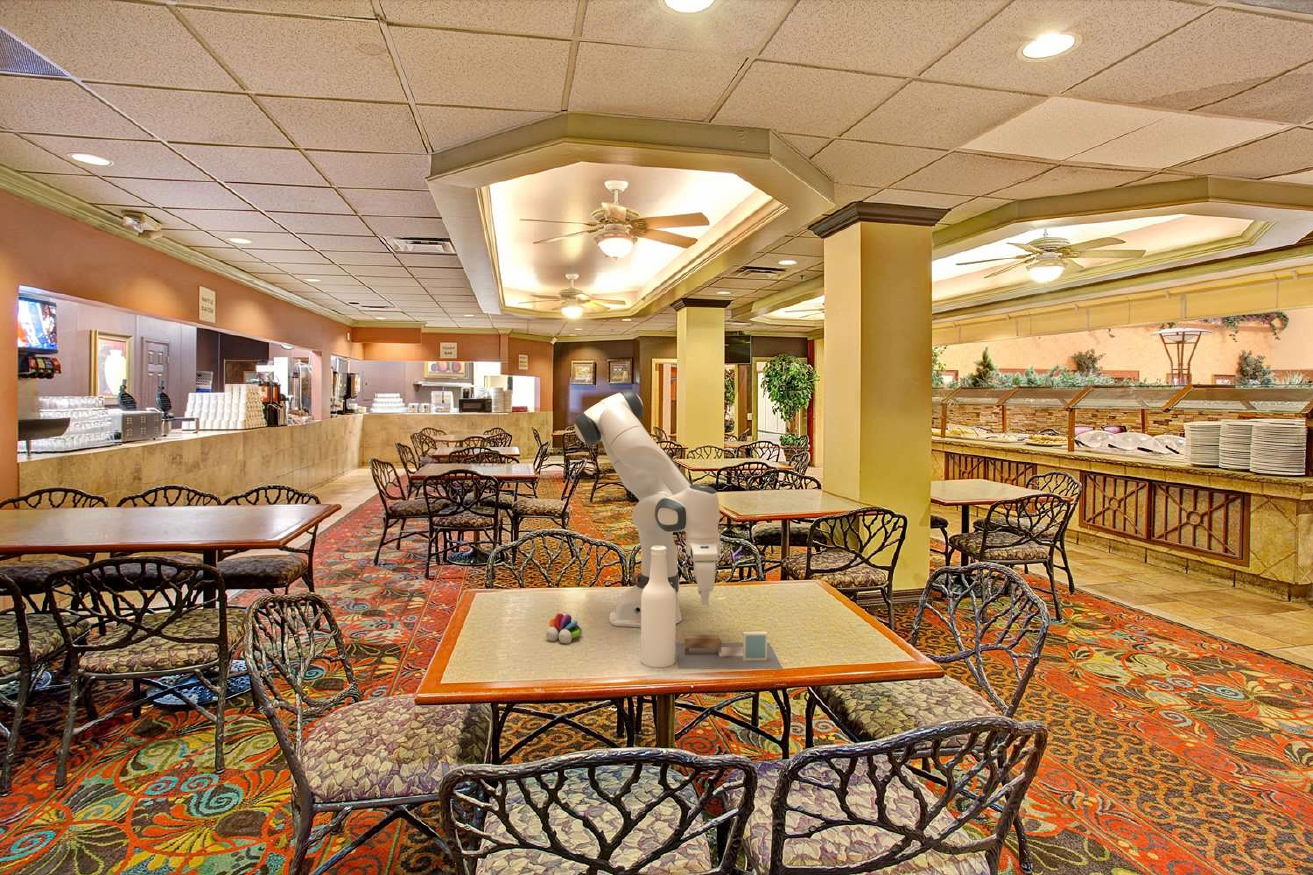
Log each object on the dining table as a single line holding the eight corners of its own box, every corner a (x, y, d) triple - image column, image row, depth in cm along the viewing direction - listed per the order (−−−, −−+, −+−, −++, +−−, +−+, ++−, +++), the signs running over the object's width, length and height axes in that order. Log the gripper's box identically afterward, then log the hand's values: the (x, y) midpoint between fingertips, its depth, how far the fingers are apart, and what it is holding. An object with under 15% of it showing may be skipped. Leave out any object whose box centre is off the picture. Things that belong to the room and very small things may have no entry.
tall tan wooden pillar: (685, 657, 170) (685, 640, 170) (684, 649, 176) (684, 632, 176) (746, 657, 170) (746, 640, 170) (743, 649, 176) (743, 632, 176)
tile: (743, 660, 168) (744, 633, 168) (742, 658, 170) (743, 631, 170) (766, 660, 169) (767, 633, 168) (765, 658, 170) (766, 631, 170)
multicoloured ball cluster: (558, 631, 191) (558, 607, 191) (587, 637, 187) (587, 612, 186) (541, 641, 183) (541, 615, 183) (570, 646, 179) (570, 620, 179)
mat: (678, 670, 163) (678, 668, 163) (675, 644, 181) (675, 642, 181) (782, 670, 163) (782, 668, 163) (769, 644, 181) (769, 642, 181)
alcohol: (668, 654, 173) (669, 542, 172) (680, 667, 165) (681, 549, 164) (636, 658, 171) (637, 544, 169) (646, 671, 162) (647, 551, 161)
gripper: (688, 539, 182) (688, 588, 182) (693, 555, 162) (693, 611, 162) (711, 539, 182) (711, 588, 183) (718, 555, 162) (719, 610, 162)
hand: (703, 599), depth 172 cm, fingers open, 8 cm apart
